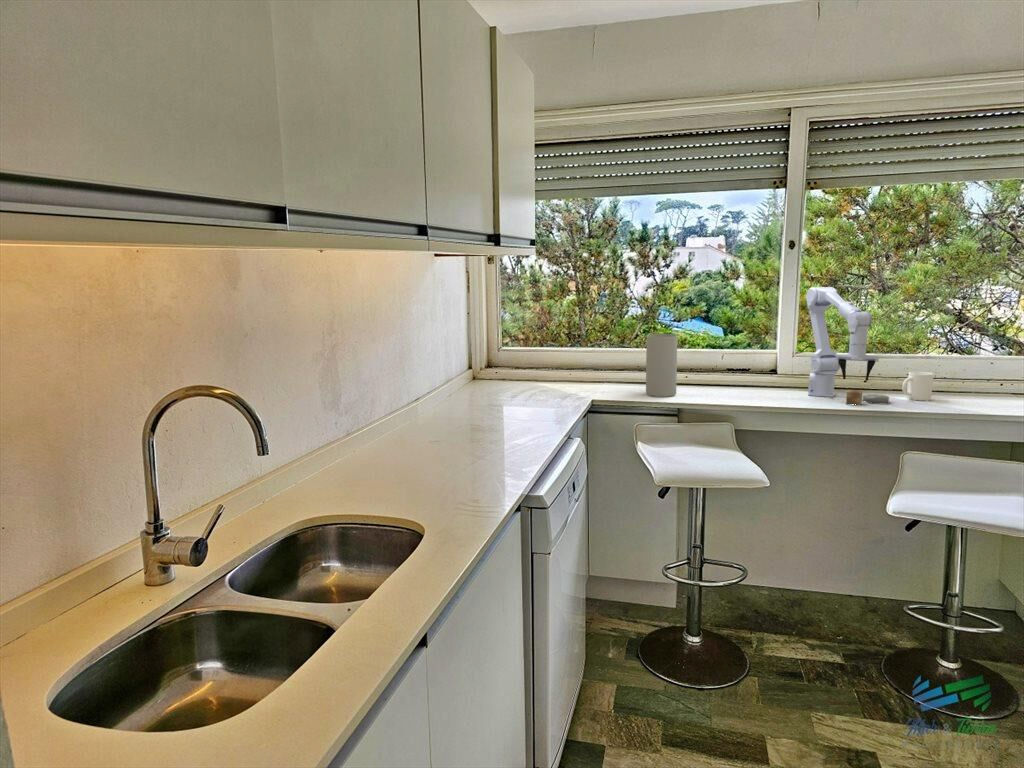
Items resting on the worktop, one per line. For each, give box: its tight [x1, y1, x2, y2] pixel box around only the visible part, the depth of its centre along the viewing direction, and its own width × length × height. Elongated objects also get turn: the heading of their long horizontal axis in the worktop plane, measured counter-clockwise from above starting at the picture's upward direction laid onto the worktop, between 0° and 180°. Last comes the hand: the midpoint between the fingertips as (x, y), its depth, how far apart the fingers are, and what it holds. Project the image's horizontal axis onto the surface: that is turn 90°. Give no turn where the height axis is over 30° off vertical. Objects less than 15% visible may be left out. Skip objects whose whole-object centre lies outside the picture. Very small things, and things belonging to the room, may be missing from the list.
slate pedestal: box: [862, 393, 890, 404], centre depth 262 cm, size 9×9×2 cm
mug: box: [901, 371, 934, 401], centre depth 264 cm, size 12×8×10 cm
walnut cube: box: [845, 389, 863, 406], centre depth 258 cm, size 5×5×5 cm
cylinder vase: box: [645, 333, 678, 398], centre depth 283 cm, size 12×12×25 cm
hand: (855, 379), depth 257 cm, fingers open, 7 cm apart
